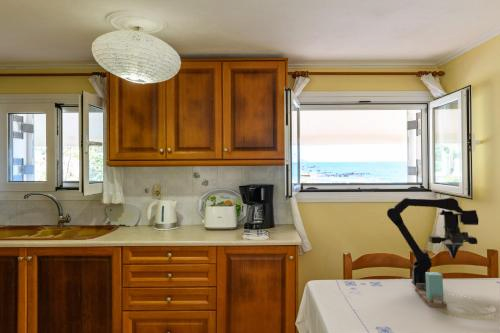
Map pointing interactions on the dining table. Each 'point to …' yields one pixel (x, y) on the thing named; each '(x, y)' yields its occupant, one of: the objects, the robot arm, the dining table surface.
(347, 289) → the dining table surface
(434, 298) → the cord board
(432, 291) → the teal rectangular block
